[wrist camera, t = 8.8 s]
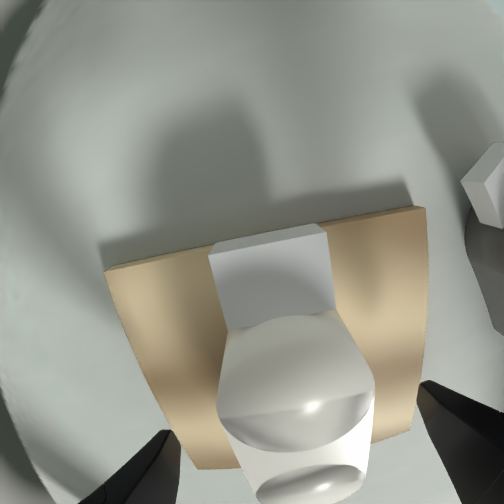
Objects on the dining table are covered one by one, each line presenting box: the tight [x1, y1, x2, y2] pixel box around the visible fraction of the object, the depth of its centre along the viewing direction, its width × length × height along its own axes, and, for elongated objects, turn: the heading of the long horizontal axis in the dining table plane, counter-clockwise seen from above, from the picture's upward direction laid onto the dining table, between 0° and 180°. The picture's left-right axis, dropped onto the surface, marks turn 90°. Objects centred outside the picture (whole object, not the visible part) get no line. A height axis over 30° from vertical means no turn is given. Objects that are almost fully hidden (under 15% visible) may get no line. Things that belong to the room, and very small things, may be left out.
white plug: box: [208, 223, 375, 504], centre depth 9 cm, size 11×4×4 cm, turn 12°
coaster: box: [104, 206, 428, 469], centre depth 11 cm, size 12×12×1 cm
